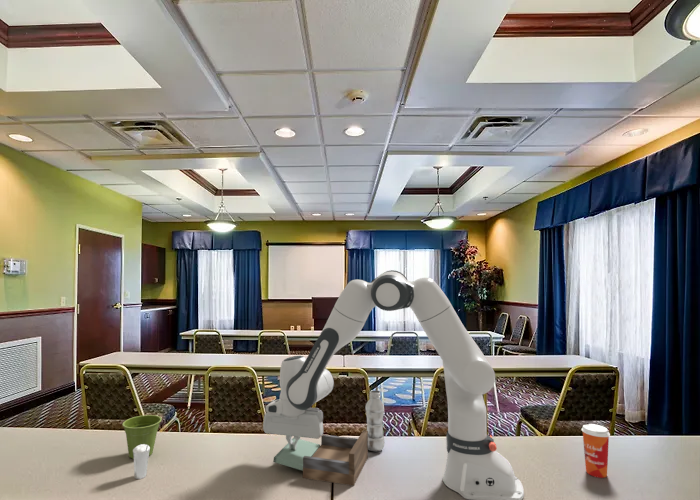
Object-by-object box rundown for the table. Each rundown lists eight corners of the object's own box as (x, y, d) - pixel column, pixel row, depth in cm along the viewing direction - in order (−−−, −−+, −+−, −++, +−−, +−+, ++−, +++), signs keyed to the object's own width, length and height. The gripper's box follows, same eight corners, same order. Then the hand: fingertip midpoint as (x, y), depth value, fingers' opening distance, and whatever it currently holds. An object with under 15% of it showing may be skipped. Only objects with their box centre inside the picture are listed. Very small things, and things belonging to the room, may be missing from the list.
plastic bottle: (383, 454, 138) (383, 395, 139) (363, 452, 140) (364, 393, 141) (385, 446, 145) (385, 389, 146) (366, 445, 146) (367, 388, 147)
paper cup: (576, 470, 129) (575, 425, 129) (593, 465, 132) (592, 421, 132) (600, 482, 121) (599, 434, 122) (617, 477, 124) (616, 430, 125)
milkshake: (139, 482, 119) (140, 447, 120) (128, 477, 122) (130, 443, 122) (153, 476, 123) (154, 442, 123) (143, 471, 126) (144, 438, 126)
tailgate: (320, 444, 139) (293, 437, 142) (303, 465, 124) (273, 457, 127) (319, 449, 139) (293, 441, 142) (302, 470, 124) (273, 462, 126)
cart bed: (367, 458, 136) (367, 430, 136) (354, 485, 118) (354, 454, 119) (322, 452, 140) (322, 425, 140) (302, 477, 122) (303, 447, 123)
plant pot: (126, 466, 128) (127, 430, 129) (117, 454, 137) (118, 420, 138) (165, 455, 136) (166, 421, 137) (154, 444, 145) (155, 412, 146)
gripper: (326, 405, 134) (326, 448, 133) (269, 400, 140) (269, 441, 139) (319, 411, 128) (319, 456, 127) (261, 406, 134) (260, 449, 133)
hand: (293, 448), depth 133 cm, fingers closed
